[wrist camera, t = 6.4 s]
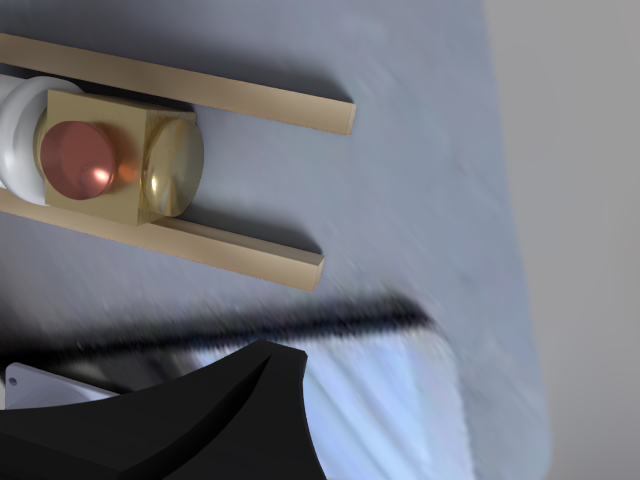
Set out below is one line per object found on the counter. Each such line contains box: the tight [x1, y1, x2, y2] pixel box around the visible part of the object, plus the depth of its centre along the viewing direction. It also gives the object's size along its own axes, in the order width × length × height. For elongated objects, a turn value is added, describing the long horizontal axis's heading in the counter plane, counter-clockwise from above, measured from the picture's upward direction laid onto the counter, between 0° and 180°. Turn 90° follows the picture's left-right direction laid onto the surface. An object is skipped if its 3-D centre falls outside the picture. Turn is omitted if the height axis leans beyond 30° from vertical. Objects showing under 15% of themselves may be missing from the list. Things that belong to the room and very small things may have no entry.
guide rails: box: [0, 33, 357, 292], centre depth 21 cm, size 8×17×2 cm, turn 79°
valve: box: [33, 89, 204, 227], centre depth 19 cm, size 5×4×5 cm
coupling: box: [0, 74, 84, 206], centre depth 20 cm, size 5×5×5 cm
